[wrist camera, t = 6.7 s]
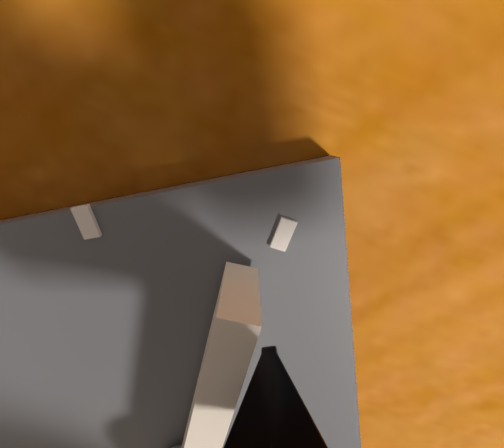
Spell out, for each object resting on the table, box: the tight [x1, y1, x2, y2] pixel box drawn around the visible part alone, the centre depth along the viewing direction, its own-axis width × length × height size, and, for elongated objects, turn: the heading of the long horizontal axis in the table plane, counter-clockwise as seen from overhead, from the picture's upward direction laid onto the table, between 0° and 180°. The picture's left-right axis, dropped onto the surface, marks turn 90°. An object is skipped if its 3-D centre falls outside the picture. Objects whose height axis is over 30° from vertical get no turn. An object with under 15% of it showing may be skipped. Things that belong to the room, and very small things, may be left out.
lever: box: [172, 262, 262, 448], centre depth 10 cm, size 14×3×3 cm, turn 166°
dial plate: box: [0, 155, 361, 448], centre depth 12 cm, size 17×19×1 cm
